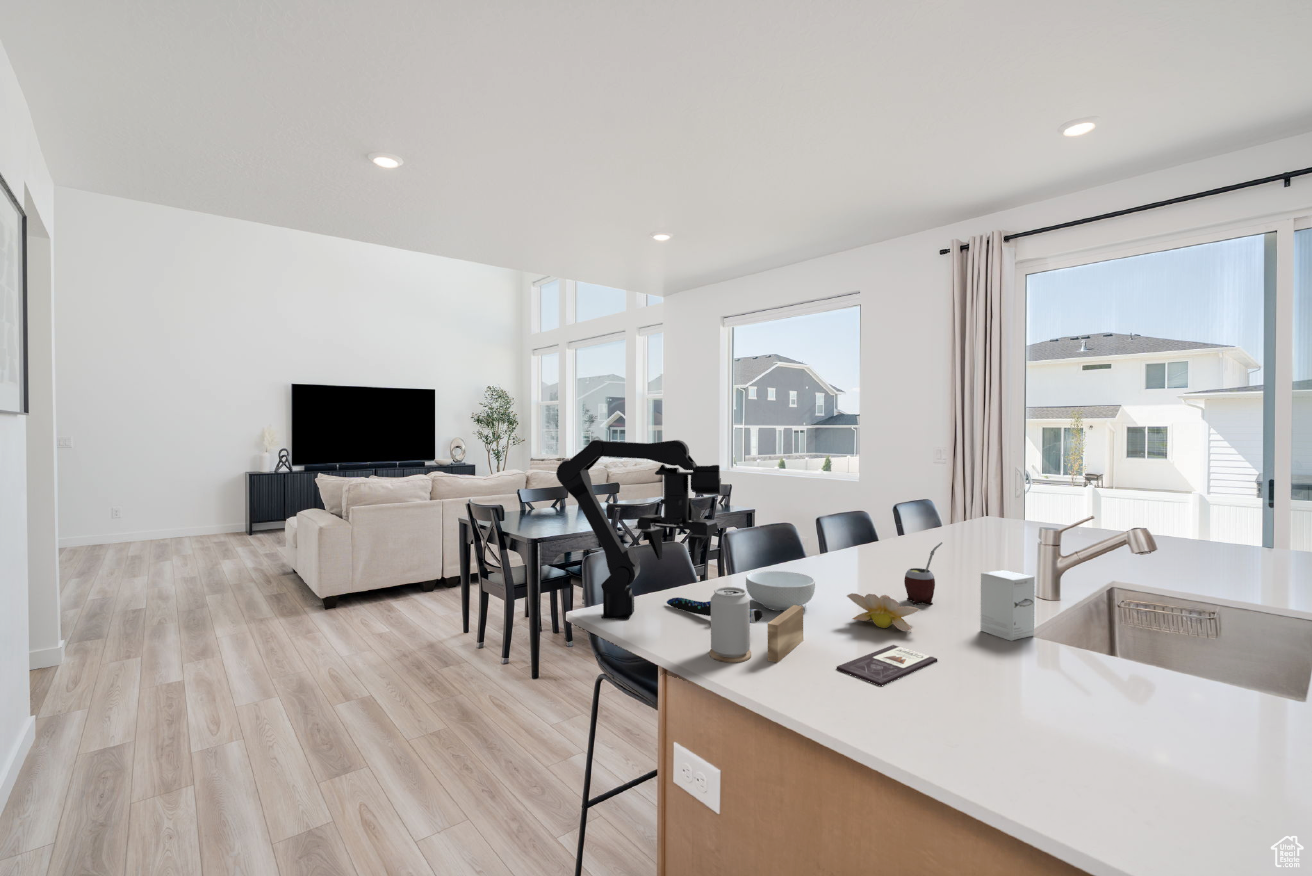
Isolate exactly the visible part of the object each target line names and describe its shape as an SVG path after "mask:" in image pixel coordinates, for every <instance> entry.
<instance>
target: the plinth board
mask: <svg viewBox="0 0 1312 876" xmlns="http://www.w3.org/2000/svg"><path fill="white" fill-rule="evenodd" d="M803 641H804V605H800V606H797V605H793V606H792V607H790V608H789V609H787V610H786V611H783V612H782V613H781V614H779V615H778V616H776V617H774V618H773V619H772V620H771V621H769V622H767V661H768V662H773V663H777V664H778V663H779V662H781V661H782V660H783V659H784V658H785V657H786V656H788V654H789V653H791V652H792V651H793V650H795V649H796V648H797V647H798V646H799V645H800V644H801V643H802V642H803ZM800 642H801V643H800ZM798 644H799V645H798ZM797 645H798V646H797Z"/></svg>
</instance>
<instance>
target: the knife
mask: <svg viewBox="0 0 1312 876" xmlns="http://www.w3.org/2000/svg"><path fill="white" fill-rule="evenodd" d="M666 603H667V604H668V606H669V607H672V608H675V609H676V610H681V611H683V610H684V612H687V613H692V614H696V615H701V616H706V617H711V600H710V601H698V600H693V599H689V598H685V597H672V598H669V599H668V600H666ZM763 617H764V614H763V611H762V609H751V608H750V624H757V623H759V622H760V620H762V619H763Z"/></svg>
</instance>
